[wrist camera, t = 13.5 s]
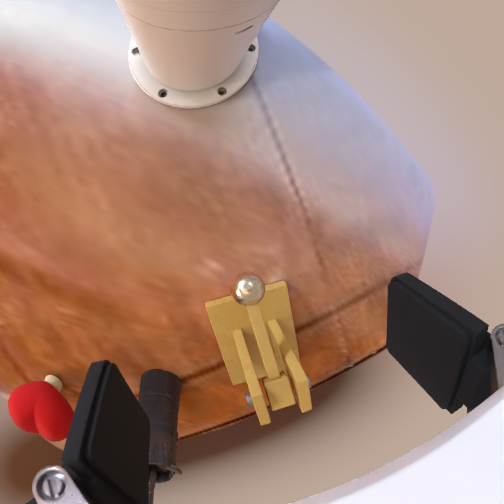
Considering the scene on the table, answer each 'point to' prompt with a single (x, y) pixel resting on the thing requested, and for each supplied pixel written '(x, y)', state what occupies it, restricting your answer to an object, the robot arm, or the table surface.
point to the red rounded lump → (41, 409)
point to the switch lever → (262, 338)
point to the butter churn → (161, 423)
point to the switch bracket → (247, 351)
